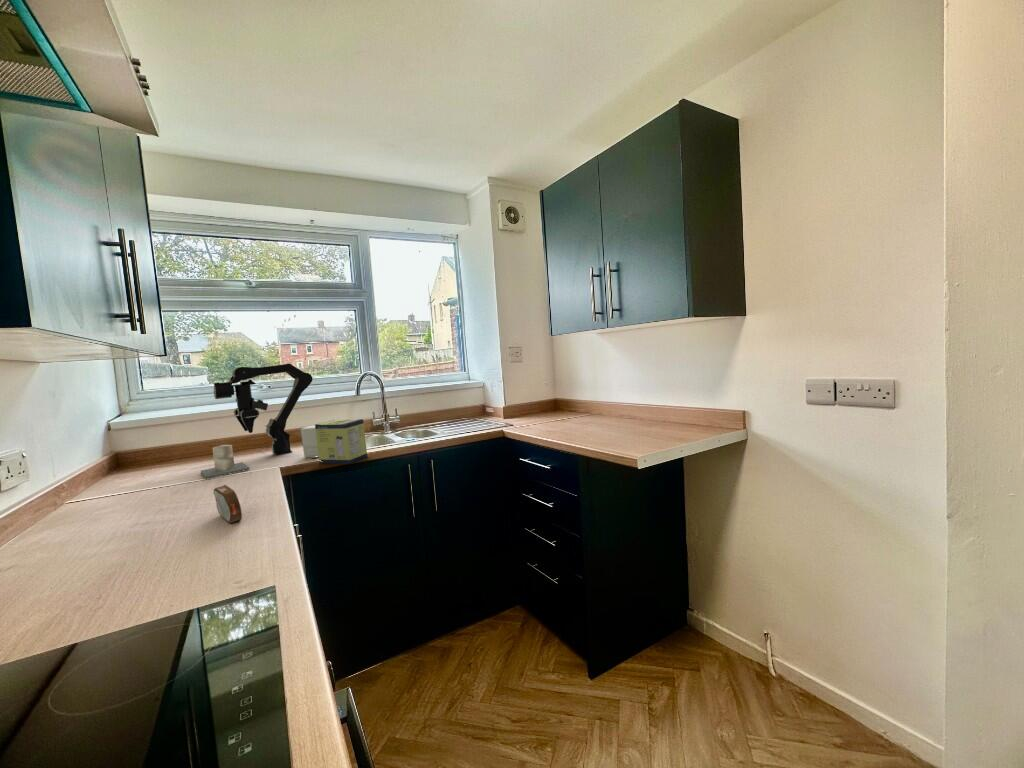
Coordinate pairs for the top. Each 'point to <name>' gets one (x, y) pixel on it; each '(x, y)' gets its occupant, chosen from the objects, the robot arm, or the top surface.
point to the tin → (227, 504)
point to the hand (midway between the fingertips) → (248, 431)
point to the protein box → (341, 441)
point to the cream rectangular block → (223, 457)
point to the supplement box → (309, 441)
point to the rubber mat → (212, 473)
